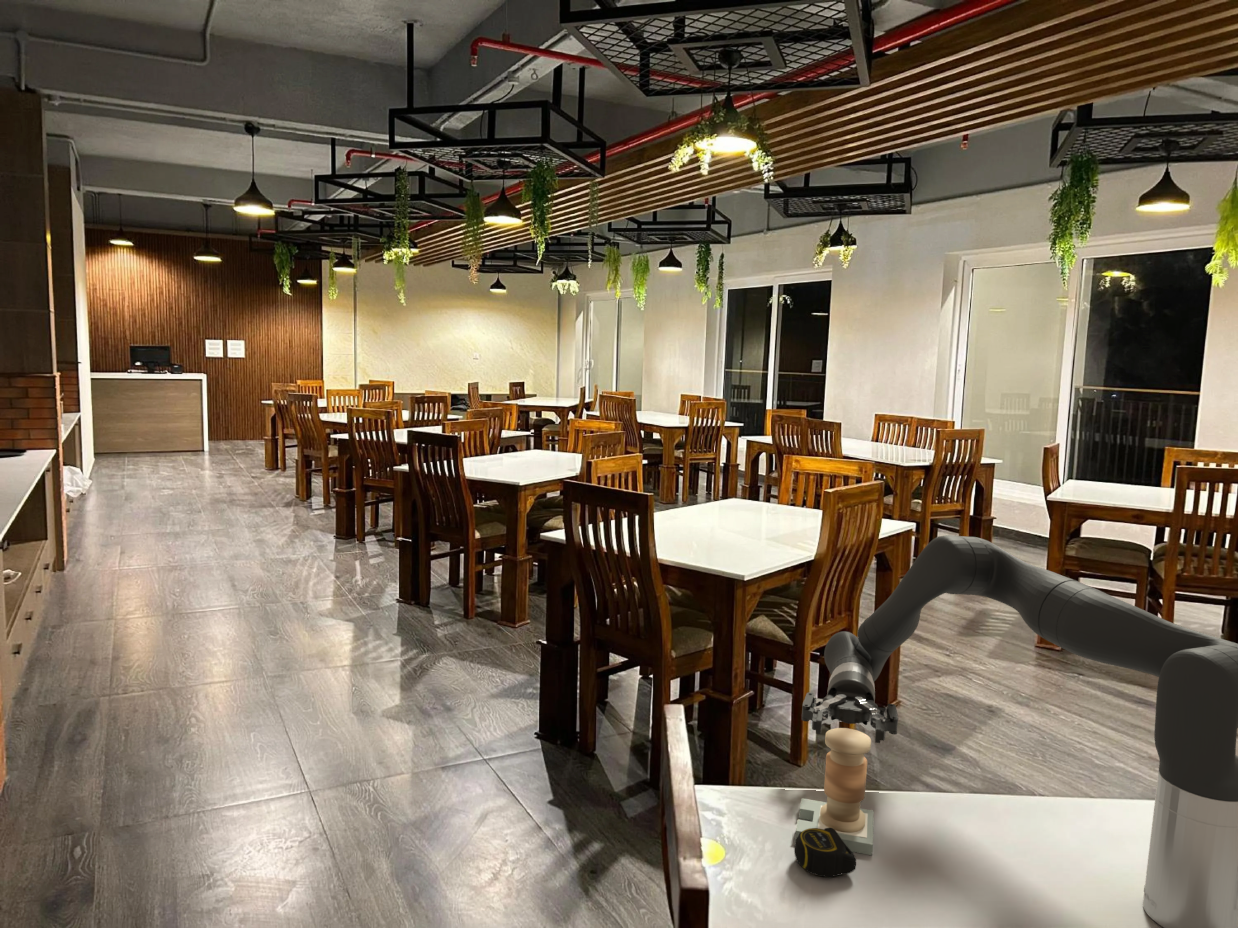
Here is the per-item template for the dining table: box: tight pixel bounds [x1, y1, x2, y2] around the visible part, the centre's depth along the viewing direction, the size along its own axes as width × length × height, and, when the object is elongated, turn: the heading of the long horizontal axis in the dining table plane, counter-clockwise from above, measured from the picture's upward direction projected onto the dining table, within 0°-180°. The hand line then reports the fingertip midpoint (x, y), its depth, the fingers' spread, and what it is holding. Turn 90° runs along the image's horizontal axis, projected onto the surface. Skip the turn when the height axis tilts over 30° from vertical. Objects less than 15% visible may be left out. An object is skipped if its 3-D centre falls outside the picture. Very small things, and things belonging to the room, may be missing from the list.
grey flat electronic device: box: [794, 797, 875, 856], centre depth 120 cm, size 10×9×2 cm
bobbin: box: [820, 727, 872, 833], centre depth 119 cm, size 6×6×12 cm
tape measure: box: [793, 828, 857, 878], centre depth 111 cm, size 7×7×4 cm
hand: (848, 732), depth 129 cm, fingers open, 8 cm apart
